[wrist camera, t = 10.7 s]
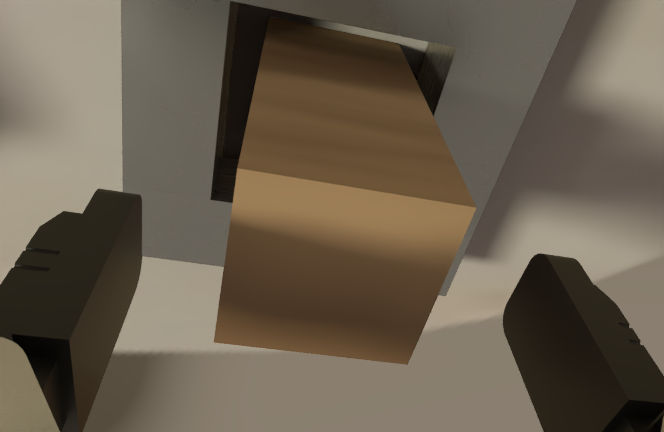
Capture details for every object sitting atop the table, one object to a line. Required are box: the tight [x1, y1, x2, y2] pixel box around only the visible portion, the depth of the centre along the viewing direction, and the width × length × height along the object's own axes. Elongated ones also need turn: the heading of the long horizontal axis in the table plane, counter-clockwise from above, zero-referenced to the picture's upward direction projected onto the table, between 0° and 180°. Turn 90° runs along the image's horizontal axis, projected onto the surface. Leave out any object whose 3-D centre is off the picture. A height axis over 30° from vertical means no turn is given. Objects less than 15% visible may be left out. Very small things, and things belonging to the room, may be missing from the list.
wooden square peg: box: [214, 17, 477, 364], centre depth 15 cm, size 4×4×10 cm
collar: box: [121, 0, 577, 296], centre depth 18 cm, size 12×12×3 cm
